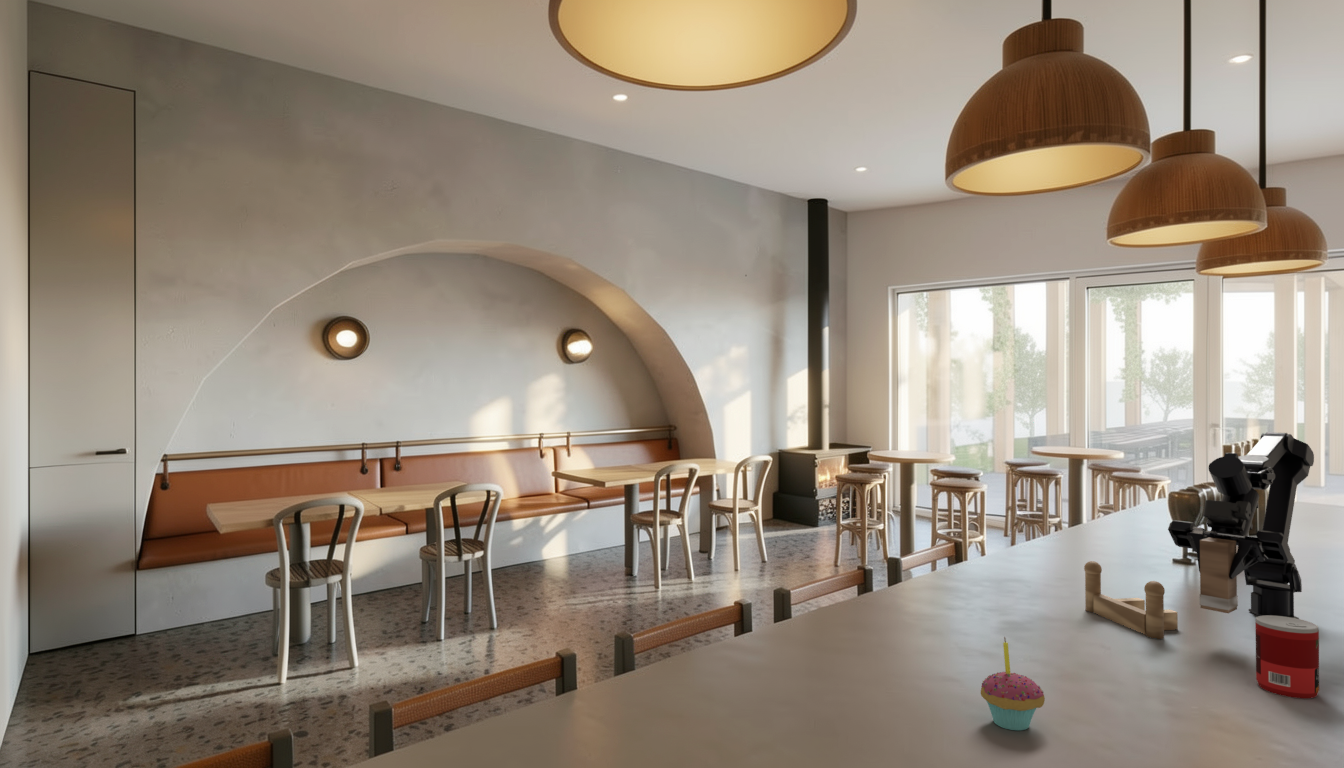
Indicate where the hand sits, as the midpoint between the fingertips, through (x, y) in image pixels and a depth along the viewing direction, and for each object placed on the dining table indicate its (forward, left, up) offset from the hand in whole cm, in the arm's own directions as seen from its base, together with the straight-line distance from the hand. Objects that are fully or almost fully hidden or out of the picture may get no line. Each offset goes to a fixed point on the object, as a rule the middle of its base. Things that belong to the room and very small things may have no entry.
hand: (1215, 575), depth 145 cm
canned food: (+1, +22, -14) cm, 26 cm away
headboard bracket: (+8, -14, -13) cm, 21 cm away
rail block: (-1, -1, -7) cm, 7 cm away
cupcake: (+49, +41, -14) cm, 65 cm away
